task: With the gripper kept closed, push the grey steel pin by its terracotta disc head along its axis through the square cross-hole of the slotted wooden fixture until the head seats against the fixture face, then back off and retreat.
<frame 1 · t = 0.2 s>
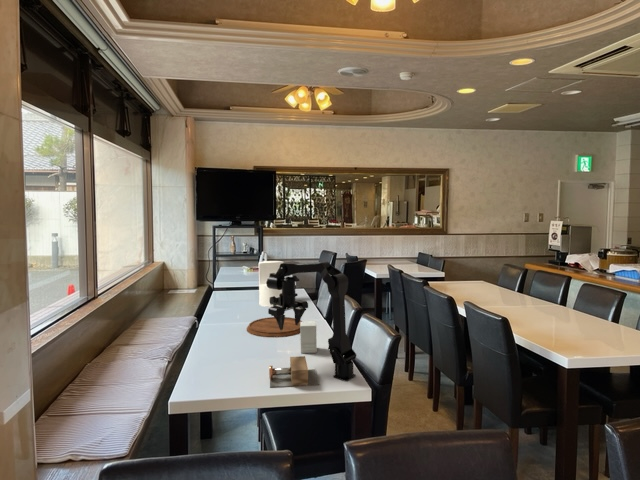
hand: (289, 327, 178), 15 cm above the table, fingers open, 9 cm apart
pin: (282, 371, 160), point 3 cm above the table, slide at 0.0 cm
cutting board: (276, 329, 227), on the table
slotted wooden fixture: (298, 378, 161), on the table
cylinder: (272, 304, 282), on the table
supplement box: (308, 350, 192), on the table
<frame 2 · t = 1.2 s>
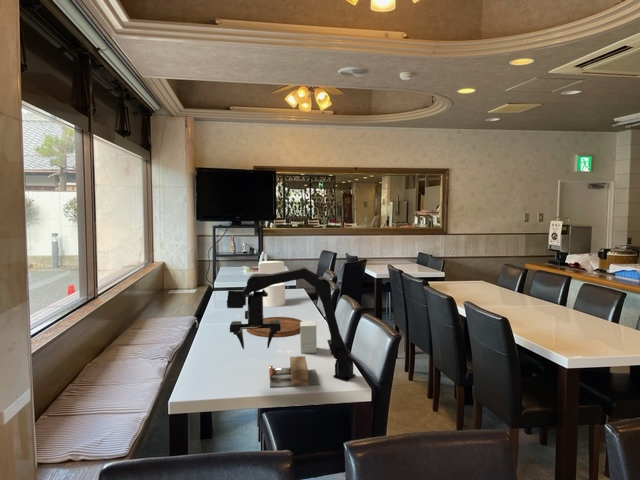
hand: (255, 348, 159), 12 cm above the table, fingers open, 9 cm apart
nothing on the table moved.
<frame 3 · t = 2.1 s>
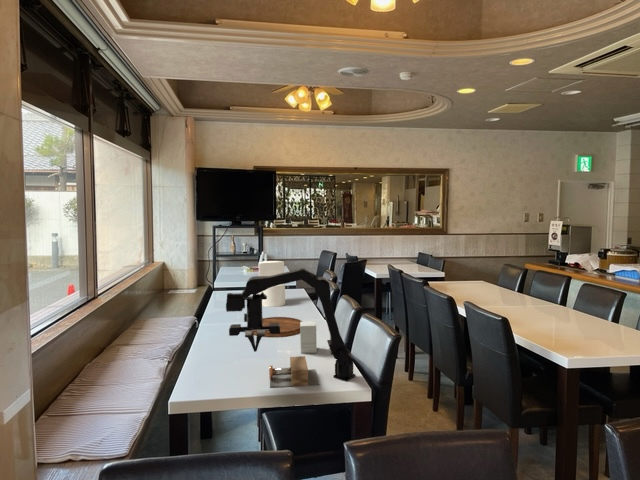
hand: (255, 351, 159), 11 cm above the table, fingers closed
nothing on the table moved.
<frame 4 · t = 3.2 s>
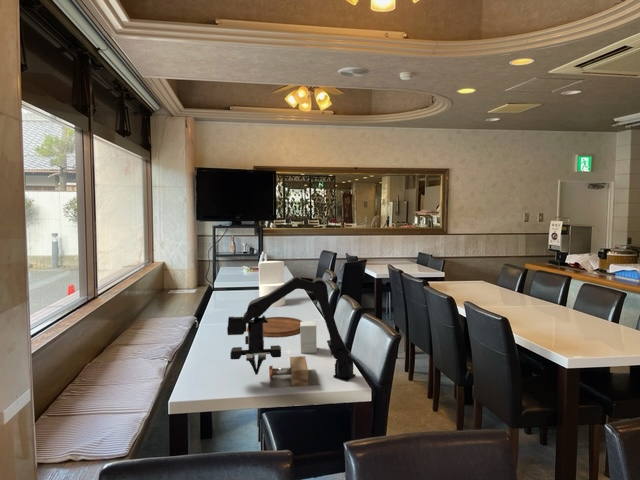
hand: (256, 374, 159), 2 cm above the table, fingers closed
nothing on the table moved.
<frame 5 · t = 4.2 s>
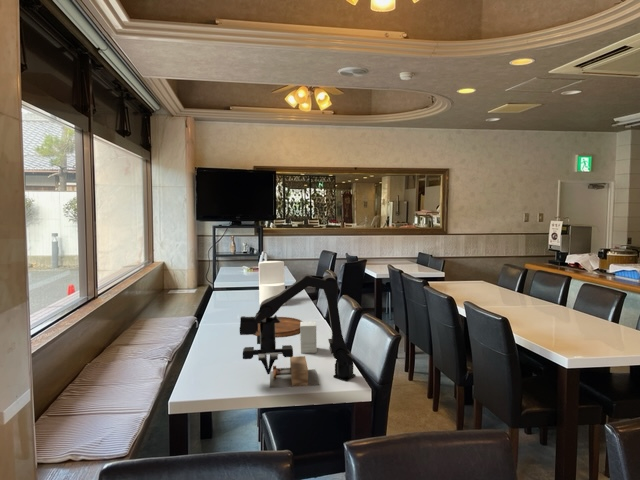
hand: (268, 373, 160), 2 cm above the table, fingers closed
pin: (286, 371, 161), point 3 cm above the table, slide at 1.4 cm, touching gripper
everything else where it was.
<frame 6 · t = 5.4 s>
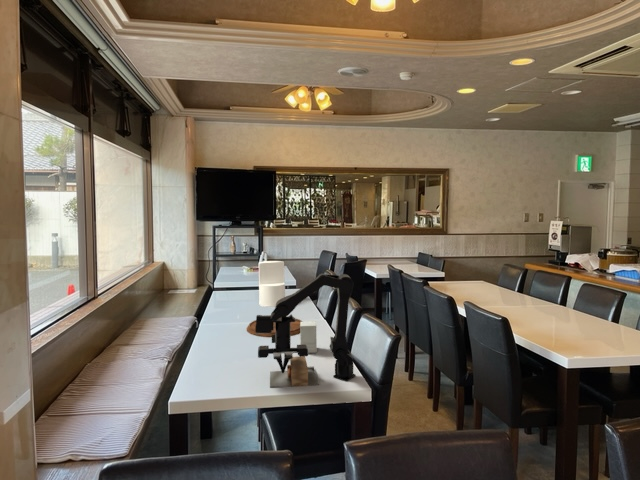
hand: (282, 372, 160), 3 cm above the table, fingers closed
pin: (300, 370, 161), point 3 cm above the table, slide at 6.9 cm, touching gripper
everything else where it was.
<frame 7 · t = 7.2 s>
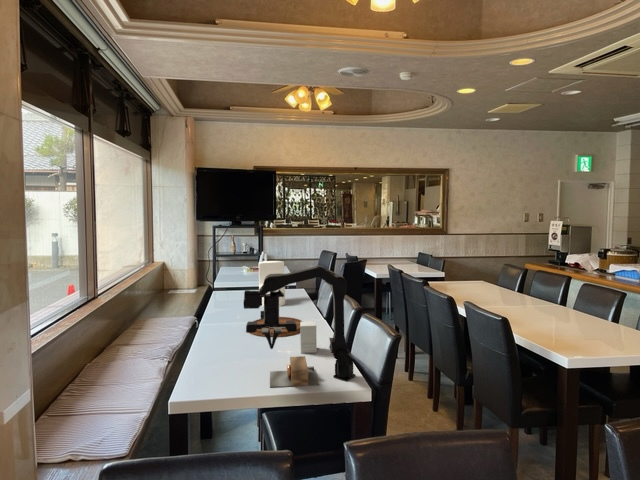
hand: (271, 348, 159), 12 cm above the table, fingers closed
pin: (300, 370, 161), point 3 cm above the table, slide at 6.8 cm
everything else where it was.
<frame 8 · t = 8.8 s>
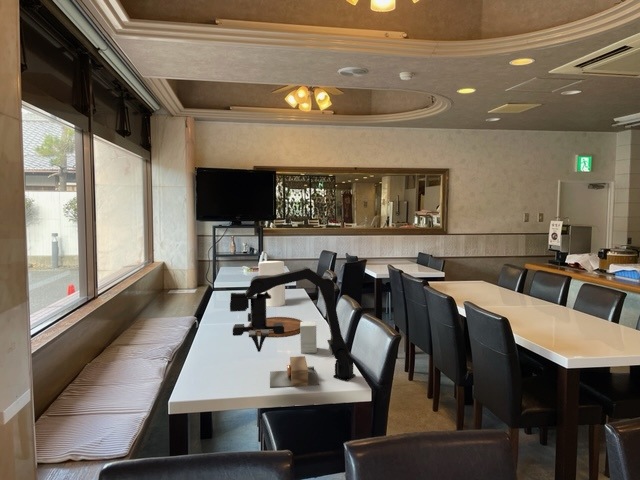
hand: (259, 351, 157), 12 cm above the table, fingers closed
nothing on the table moved.
at the end: pin slide at 6.8 cm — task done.
